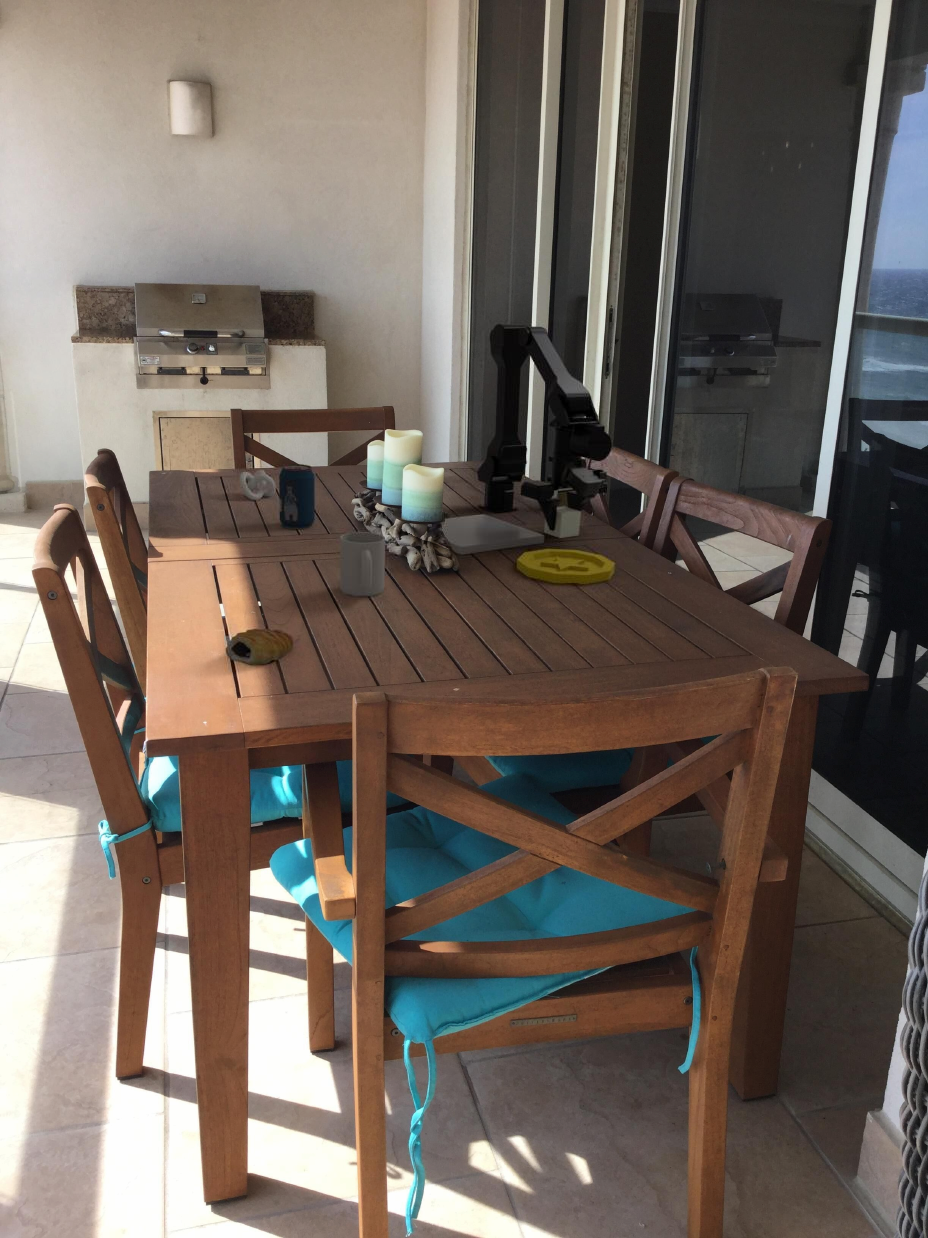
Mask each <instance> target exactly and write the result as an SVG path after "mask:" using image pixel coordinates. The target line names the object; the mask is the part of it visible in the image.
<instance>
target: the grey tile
mask: <svg viewBox="0 0 928 1238" xmlns="http://www.w3.org/2000/svg"><path fill="white" fill-rule="evenodd" d="M444 519H445V522H444V524H443V525H442V531H443V533H444V535H445V537H446V538H447V539H448V541H449V542H450V544H451V546H452V548H453V550H454V552H453V553H456V554H458V555H467V554H469V555H470V554H475V553H481V552H482V553H483V552H488V551H490V552H491V551H496V550H503V549H509V548H516V547H517V548H518V547H523V546H532V545H538V544H544V543H545V534H543V533H542V534H541V533H539V532H536V531H534V530H530V529H528V528H525V527H522V526H518V525H516V524H513V523H511V522H507V521H506V520H505V521H504V520H501V519H498V518H496V517H493V516H491V515H487V514H484V513H482V514H474V515H466V516H465V515H464V516H457V517H449V518H444Z"/></svg>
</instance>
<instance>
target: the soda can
mask: <svg viewBox="0 0 928 1238" xmlns="http://www.w3.org/2000/svg"><path fill="white" fill-rule="evenodd" d="M278 476H279V477H278V485H279V487H278V488H279V493H278V495H279V496H278V497H279V522H280V523H281V525H282V527H284V529H289V530H290V529H291V530H306V529H309V528H311V527H312V526H313V524H314V522H315V520H316V519H315V517H316V516H315V514H316V513H315V512H316V511H315V507H316V506H315V504H316V503H315V500H316V499H315V497H316V496H315V474H314V472H313V470H312V466H311V465H307V464H303V463H302V464H301V463H294V464H291V463H289V464H284V465H282V466H281V470H280V472H279V475H278Z"/></svg>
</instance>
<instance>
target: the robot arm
mask: <svg viewBox="0 0 928 1238" xmlns="http://www.w3.org/2000/svg"><path fill="white" fill-rule="evenodd" d="M489 343H490V345H489V347H490V355H491V357H492V359H493V361H494V362H495V364H496V367H497V376H496V377H497V380H496V381H497V382H496V404H495V405H496V409H495V411H496V412H495V431H494V432H495V433H494V437H492V440H491V441H490V443H489V444H488V447H487V450H486V456H485V457H486V458H485V460H484V461H483V462H482V464H481V465H480V467H479V468H478V469H477V471H476V473H477V481H479V482H482V483H484V484H485V486H484V502H483V503H481V504H478V508H482V509H484V510H487V511H490V512H493V513H501V512H503V513H504V512H511V511H518V506H514V500H515V499H514V498H515V497H514V495H515V490H514V489H515V488H514V487H515V484H514V483H517V482H518V483H521V482H522V480H523V476H524V472H525V469H526V465H527V464H528V462H527V461H528V460H527V453H528V448H527V447H528V446H527V445H526V444H523V443H522V440H521V439H520V437H519V426H520V425H519V423H520V404H521V403H520V401H521V395H520V394H521V377H522V376H521V375H522V367H523V365H524V364H525V362H526V360H527V359H528V357H530V358H531V361H532V362H533V363H534V366H535V367H536V370H537V371H538V373H539V374H540V376H541V378H542V379H543V381H544V385H546V388H547V391H548V392H547V397H546V400H547V403H548V405H549V407H550V411H551V412H552V415H553V416H554V417H555V418H554V419H552V420H551V421H550V422H549V423H548V426H549V427H551V428H553V429H554V436H553V448H552V449H553V451H552V455H549V456H548V462H552V465H551V475H547V476H546V481H542V480H539V479H537V480H529V481H528V480H525V481H524V482H523V483H522V484H521V486H520V496H521V497H522V496H523V497H525V498H528V499H532V500H535V501H537V503H538V505H539V508H540V509H541V511H542V514H543V516H544V518H545V519H546V522H547V524H548V527H549V529H550V530H551V531H554V529H555V524H556V513H557V506H558V505H559V503H560V502H561V501H562V500H561V499H558V498H557V495H558V493H559V492H567V504H568V508H572V509H575V510H578V511H581V512H582V510H583V509H584V507H585V505H586V504H587V502H589V501H590V500H591V499H594V498H595V497H596V496H597V495H599V494H607V493H608V487H609V483H608V482H607V479H608V477H607V471H606V470H605V469H603V468H598V469H596V468H595V469H594V470H593V469H591V470H590V469H588V468H587V460H590V461H595V462H602V461H604V460H606V459H607V457H609V455H610V454H611V451H612V449H613V448H612V447H613V442H612V440H611V436H610V435H609V434H608V433H607V432H606V431H605V430H606V426H605V425H604V424H600V419H599V414H598V413H597V410H596V408H595V405H594V402H593V398H592V395H591V393H590V392H589V390H588V389H587V387H586V386H584V384H583V383H582V382H581V381H580V380H577V378H575V377H573V376H572V375H571V374H570V373H569V372H568V370H567V368H566V367H565V365H564V363H563V361H562V359H561V357H560V356H559V354H558V353H557V350H556V349H555V347H554V345H553V343H552V342H551V340H550V338H549V332H548V330H547V329H546V328H545V327H543V326H527V325H526V324H523V323H521V324H520V323H498V324H496V325H495V326H494V327H493V329H491V331H490V332H489ZM586 459H587V460H586ZM568 486H570V487H568ZM559 487H562V488H559ZM545 519H544V520H545Z"/></svg>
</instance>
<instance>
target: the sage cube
mask: <svg viewBox="0 0 928 1238" xmlns="http://www.w3.org/2000/svg"><path fill="white" fill-rule="evenodd" d="M581 514H582V511H578V510H575V509H572V508H568V507H565V506H563V507H557V513H556V524H555V529H554V531H551V530H550V529H549V527H548V524H547V522H546V519H544V531H543V532H544V534H547V535H549V536H553V537H556V538H559V539H563V538H571V537H577V536H580V527H581V526H580V524H581Z"/></svg>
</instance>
